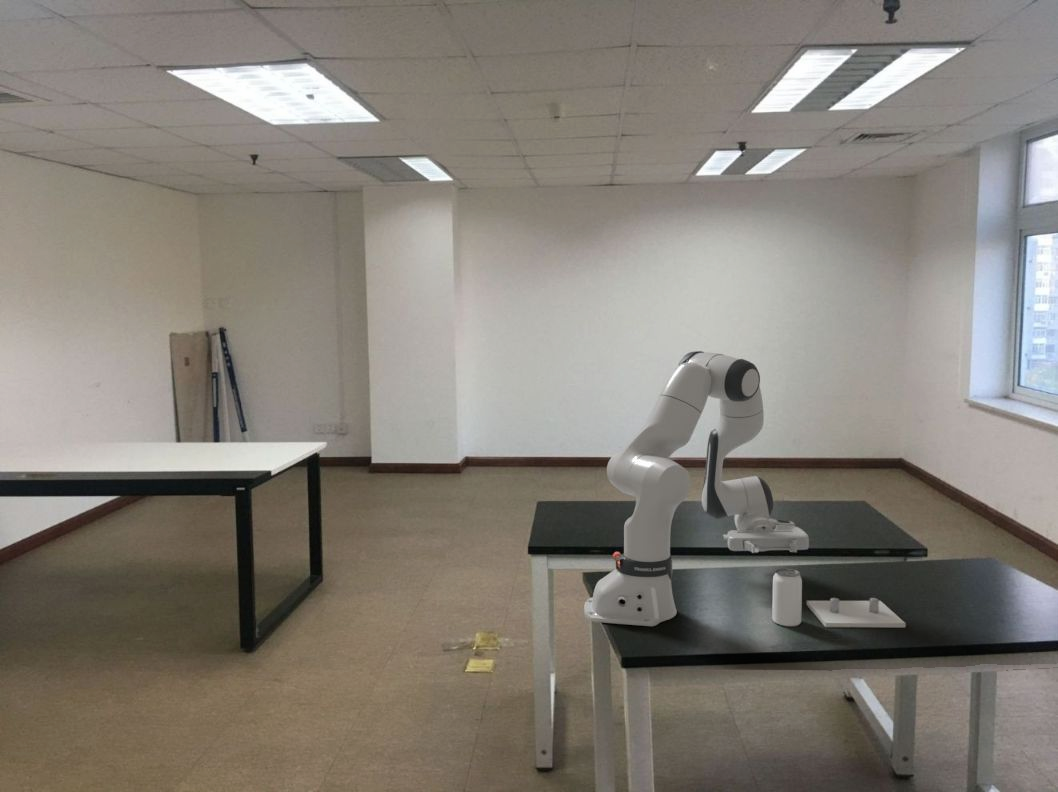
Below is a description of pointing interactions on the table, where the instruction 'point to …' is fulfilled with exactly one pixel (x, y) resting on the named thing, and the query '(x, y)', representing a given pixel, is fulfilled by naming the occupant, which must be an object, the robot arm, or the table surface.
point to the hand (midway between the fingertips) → (774, 549)
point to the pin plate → (854, 613)
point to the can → (787, 597)
